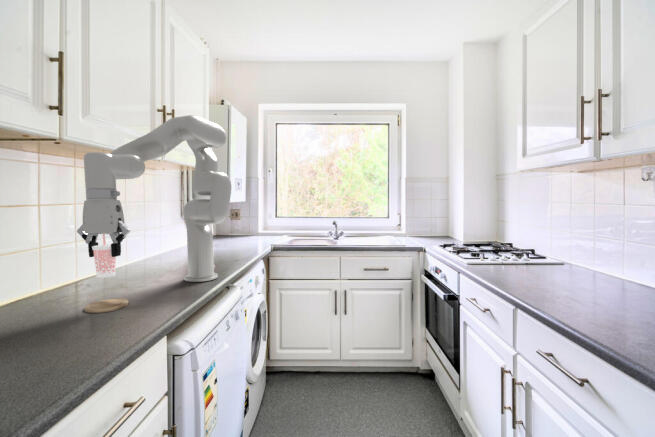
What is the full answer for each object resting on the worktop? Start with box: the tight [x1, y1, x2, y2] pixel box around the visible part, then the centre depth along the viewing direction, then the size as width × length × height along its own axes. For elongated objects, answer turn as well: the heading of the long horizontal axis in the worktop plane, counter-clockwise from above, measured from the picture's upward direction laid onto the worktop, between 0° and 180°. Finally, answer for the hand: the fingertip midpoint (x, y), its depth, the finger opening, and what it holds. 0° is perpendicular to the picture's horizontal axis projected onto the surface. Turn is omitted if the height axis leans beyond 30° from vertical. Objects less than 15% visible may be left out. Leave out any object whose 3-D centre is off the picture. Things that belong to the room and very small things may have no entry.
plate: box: [84, 298, 129, 314], centre depth 102 cm, size 11×11×1 cm
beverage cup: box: [92, 234, 117, 278], centre depth 101 cm, size 6×6×14 cm
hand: (105, 255), depth 101 cm, fingers closed on beverage cup, 6 cm apart
